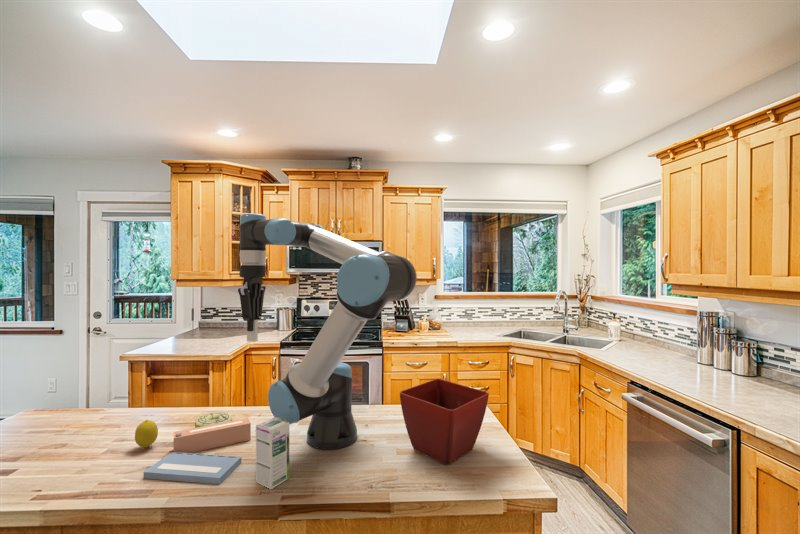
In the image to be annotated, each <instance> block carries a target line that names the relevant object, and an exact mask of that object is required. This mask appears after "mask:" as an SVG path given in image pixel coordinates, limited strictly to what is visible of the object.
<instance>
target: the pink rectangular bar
mask: <svg viewBox="0 0 800 534" xmlns="http://www.w3.org/2000/svg"><path fill="white" fill-rule="evenodd" d="M251 423H252V422H251V421H250V419H249V418H248V417H246V418H241V419H236V420H232V421H229V422H224V423H218V424H213V425H208V426H202V427H197V428H195V427H194V428H193V427H192V428H188V429H187V428H186V429H183V430H177V431H173V451H172V452H180V453H195V452H201V451H205V450H210V449H213V448H218V447H222V446H224V447H225V446H227V445H228V446H229V445H232V444H237V443H242V442H246V440H247V441H250V440H251V436H252V435H251V431H252V430H251V428H252V427H251V426H252V425H251Z"/></svg>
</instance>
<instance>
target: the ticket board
mask: <svg viewBox="0 0 800 534" xmlns="http://www.w3.org/2000/svg"><path fill="white" fill-rule="evenodd" d="M241 463H242V456H235V455H222V454H221V455H220V454H208V453H207V454H205V453H195V452H191V453H180V452H173V451H172V452H170V453H168V454H167V455H166V456H164V457H162V458H161V459H160V460H158V461H157V462H156V463H154V464H152V465H151V466H150V467H149V468H147V469H146V470H145V471H143V479H150V480H151V479H152V480H164V481H173V482H174V481H176V482H177V481H178V482H187V483H189V482H190V483H200V484H201V483H202V484H212V485H220V484H221V483H223V482H224V480H226V479H227V477H229V476H230V474H232V472H233V471H234V470H236V469H237V468H238V467H239V465H241Z"/></svg>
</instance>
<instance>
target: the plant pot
mask: <svg viewBox="0 0 800 534" xmlns="http://www.w3.org/2000/svg"><path fill="white" fill-rule="evenodd" d="M489 395H490V394H489V392H487V391H484V390H480V389H476V388H474V387H470V386H468V385H462V384H460V383H459V384H458V383H456V382H452V381H448V380H445V379H441V378H435V379H432V380H430V381H429V380H428V381H425V382H424V383H421V384H419V385H418V384H417V385H414V386H413V387H409V388H407V389H403V390H401V391H399V400H400V405H401V412H402V416H403V420H404V424H405V428H406V431H407V435H408V438H409V440H410V443H411V446H412V449H413V450H414V451H416V452H417V453H420V454H422V455H424V456H427V457H428V458H430V459H432V460H435V461H437V462H439V463H441V464H443V465H446V466H447V465H448V466H449V465H451V464H452V463H454V462H456V461H458V460H459V459H460V458H462V457H464V456H465V455H467V454H468V453H470V452H472V450H473V449H474V447H475V444H476V442H477V439H478V437H479V434H480V431H481V429H482V425H483V421H484V418H485V414H486V410H487V407H488V402H489V401H488V400H489Z"/></svg>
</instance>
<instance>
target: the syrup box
mask: <svg viewBox="0 0 800 534" xmlns="http://www.w3.org/2000/svg"><path fill="white" fill-rule="evenodd" d="M290 477H291V476H290V425H289V421H287V420H284V419H282V418H277V417H274V416H273V417H272V418H269V419H267V420H264V421H262V422H260V423H257V424H256V425H255V478H256V479H255V481H256V483H257V484H258V485H260V484H261V486H262V485H263V486H262V487H264V486H265V488H266V487H267V489H268V488H269V490H271V489H272V490H273V489H274V488H276V487H277V486H279V485H280V484H282V483H284V482H285V481H288V480H289V479H290Z"/></svg>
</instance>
